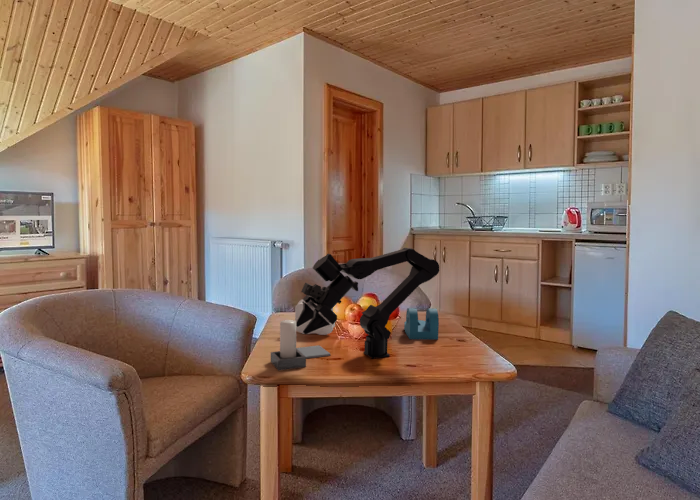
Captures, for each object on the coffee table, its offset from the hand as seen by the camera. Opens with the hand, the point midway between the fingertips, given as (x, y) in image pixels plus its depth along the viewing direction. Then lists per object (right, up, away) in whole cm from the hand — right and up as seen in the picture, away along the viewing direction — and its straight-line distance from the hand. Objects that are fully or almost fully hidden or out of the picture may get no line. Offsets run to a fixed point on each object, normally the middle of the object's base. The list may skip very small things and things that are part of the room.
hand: (300, 329), depth 140 cm
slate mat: (+2, -10, +11) cm, 15 cm away
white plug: (-4, -10, 0) cm, 11 cm away
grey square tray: (-4, -10, 0) cm, 11 cm away
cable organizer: (+2, -7, +38) cm, 39 cm away
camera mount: (+42, -8, +38) cm, 57 cm away
